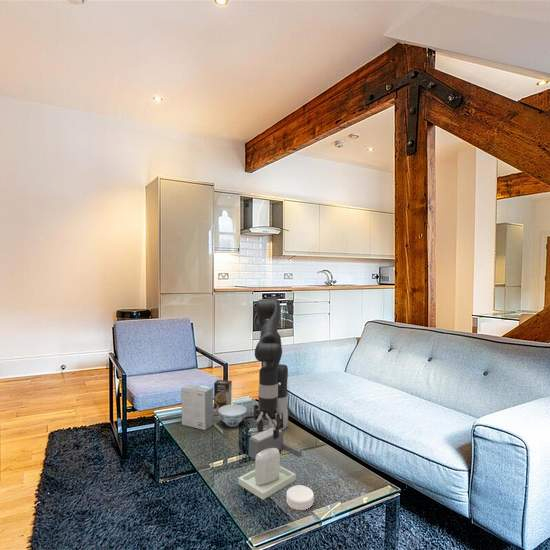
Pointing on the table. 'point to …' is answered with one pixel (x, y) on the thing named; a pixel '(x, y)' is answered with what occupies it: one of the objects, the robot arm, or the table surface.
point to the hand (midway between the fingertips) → (267, 434)
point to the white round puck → (300, 497)
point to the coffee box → (222, 393)
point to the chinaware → (232, 414)
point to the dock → (268, 443)
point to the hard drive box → (197, 406)
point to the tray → (268, 488)
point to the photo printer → (267, 466)
